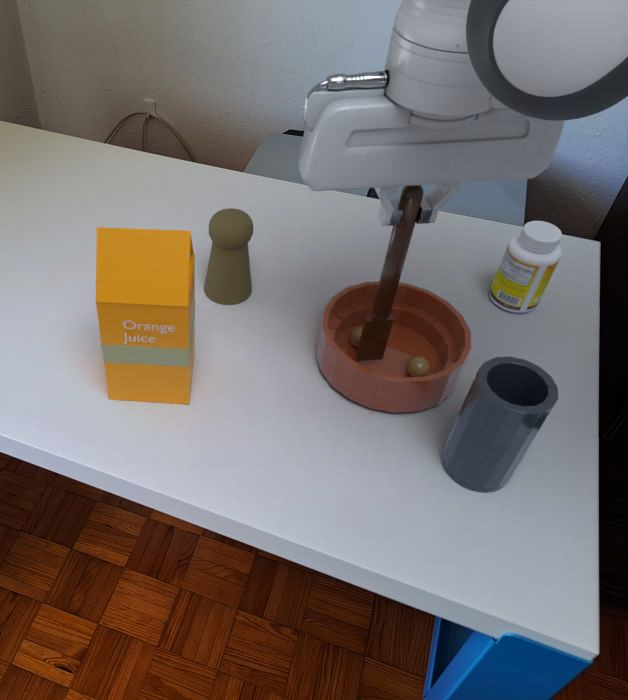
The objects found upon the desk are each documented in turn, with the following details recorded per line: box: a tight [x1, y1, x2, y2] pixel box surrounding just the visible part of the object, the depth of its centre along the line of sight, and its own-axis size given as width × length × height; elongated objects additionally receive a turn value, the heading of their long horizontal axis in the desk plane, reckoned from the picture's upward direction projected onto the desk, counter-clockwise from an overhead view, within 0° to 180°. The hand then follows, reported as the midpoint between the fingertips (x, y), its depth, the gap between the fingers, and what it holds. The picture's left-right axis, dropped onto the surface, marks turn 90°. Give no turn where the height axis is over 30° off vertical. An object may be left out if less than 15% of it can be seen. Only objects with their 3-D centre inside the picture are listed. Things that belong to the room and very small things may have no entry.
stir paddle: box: [356, 185, 424, 361], centre depth 66 cm, size 3×2×22 cm, turn 93°
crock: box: [441, 356, 559, 493], centre depth 63 cm, size 6×6×12 cm
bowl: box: [315, 280, 472, 414], centre depth 74 cm, size 15×15×6 cm
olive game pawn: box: [203, 207, 254, 306], centre depth 82 cm, size 6×6×11 cm
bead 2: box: [406, 356, 430, 377], centre depth 73 cm, size 2×2×2 cm
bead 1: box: [349, 326, 363, 347], centre depth 77 cm, size 2×2×2 cm
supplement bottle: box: [489, 220, 563, 314], centre depth 79 cm, size 6×6×10 cm
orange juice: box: [95, 226, 196, 406], centre depth 69 cm, size 8×9×20 cm
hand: (405, 221), depth 61 cm, fingers closed on stir paddle, 2 cm apart
